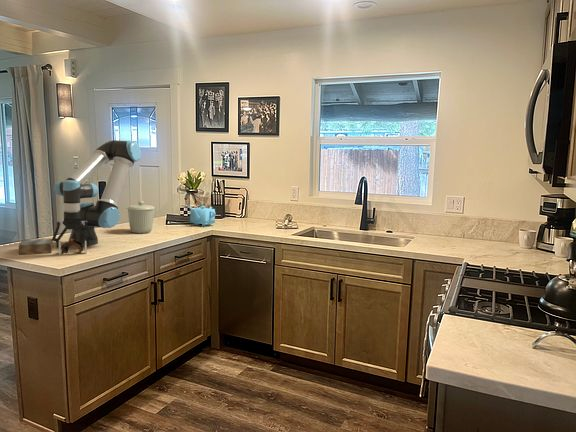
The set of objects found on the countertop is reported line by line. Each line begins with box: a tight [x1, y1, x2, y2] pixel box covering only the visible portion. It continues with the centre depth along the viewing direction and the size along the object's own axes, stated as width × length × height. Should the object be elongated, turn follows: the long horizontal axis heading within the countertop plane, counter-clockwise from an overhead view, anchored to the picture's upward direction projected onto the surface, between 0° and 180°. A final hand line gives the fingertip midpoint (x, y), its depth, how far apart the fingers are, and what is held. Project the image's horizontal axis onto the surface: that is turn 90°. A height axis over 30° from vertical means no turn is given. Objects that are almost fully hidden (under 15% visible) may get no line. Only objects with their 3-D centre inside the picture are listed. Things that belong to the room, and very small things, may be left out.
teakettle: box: [188, 205, 217, 227], centre depth 318 cm, size 19×19×15 cm
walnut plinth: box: [18, 238, 54, 256], centre depth 218 cm, size 14×14×5 cm
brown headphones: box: [61, 239, 85, 255], centre depth 216 cm, size 12×10×8 cm
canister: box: [126, 200, 156, 234], centre depth 280 cm, size 18×18×21 cm
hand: (73, 253), depth 216 cm, fingers open, 11 cm apart
